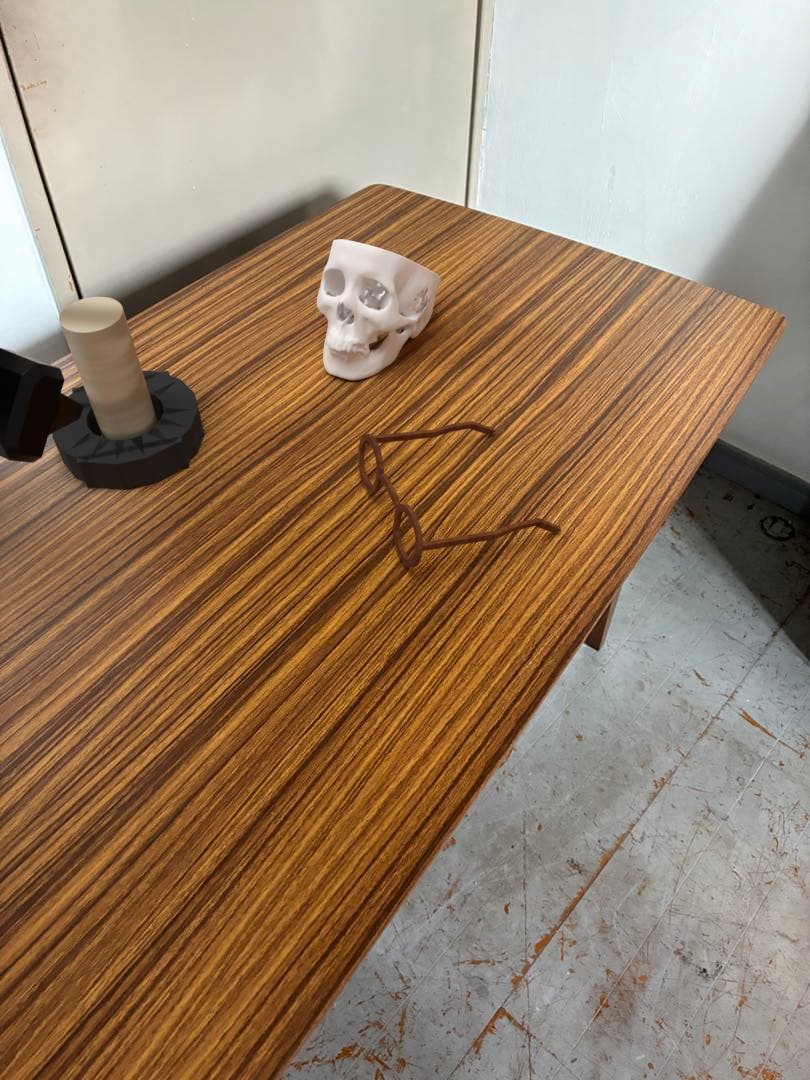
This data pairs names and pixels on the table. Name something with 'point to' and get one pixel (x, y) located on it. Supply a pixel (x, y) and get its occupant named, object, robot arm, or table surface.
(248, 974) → the table surface
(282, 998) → the table surface
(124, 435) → the beige cylinder
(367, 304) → the skull bowl
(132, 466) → the black thick flat ring
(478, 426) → the glasses
